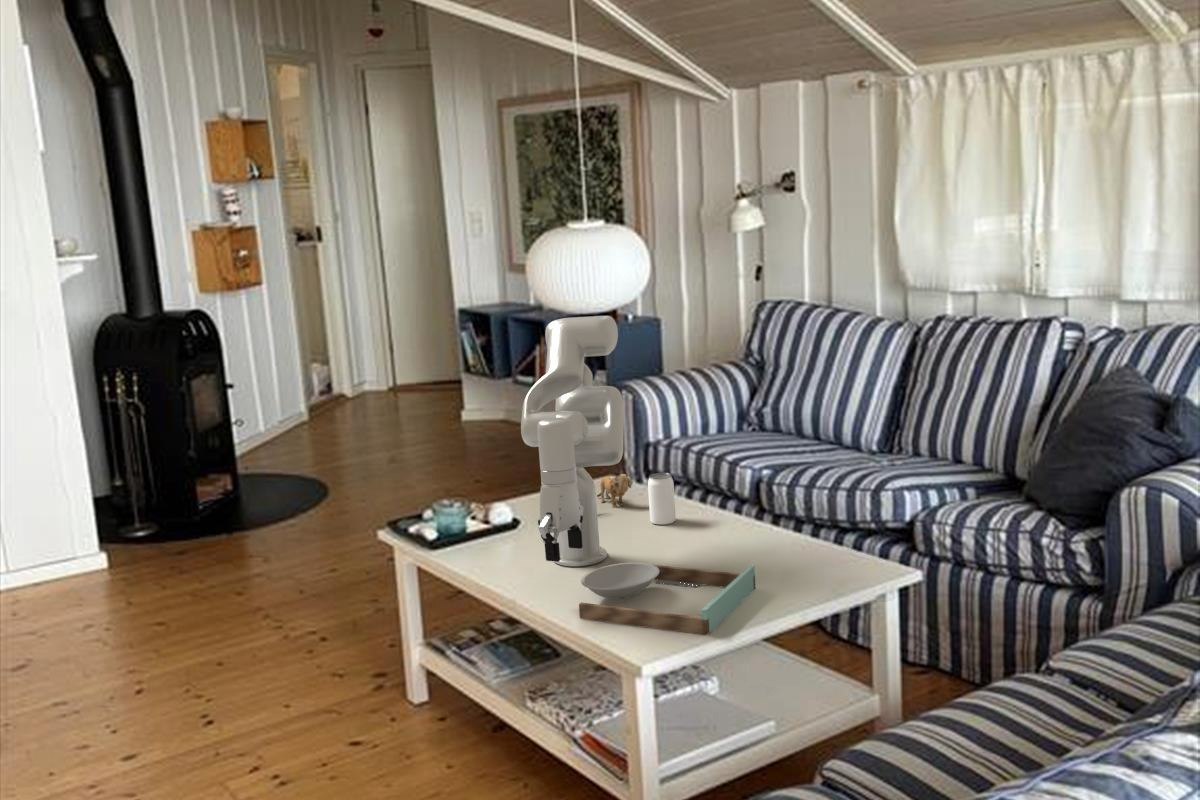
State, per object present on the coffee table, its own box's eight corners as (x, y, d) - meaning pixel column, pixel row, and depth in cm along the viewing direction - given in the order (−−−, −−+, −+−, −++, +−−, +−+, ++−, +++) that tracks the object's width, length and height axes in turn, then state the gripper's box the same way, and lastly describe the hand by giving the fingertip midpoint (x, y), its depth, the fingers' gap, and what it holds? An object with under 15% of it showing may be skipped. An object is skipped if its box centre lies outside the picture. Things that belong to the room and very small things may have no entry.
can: (676, 524, 303) (673, 478, 300) (650, 526, 303) (647, 480, 301) (675, 517, 309) (672, 471, 307) (649, 518, 309) (647, 473, 307)
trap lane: (579, 618, 246) (578, 594, 245) (636, 575, 268) (634, 554, 267) (707, 634, 233) (706, 610, 232) (755, 588, 255) (754, 566, 254)
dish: (634, 578, 266) (632, 557, 265) (675, 595, 255) (674, 572, 254) (568, 600, 256) (566, 577, 255) (608, 618, 245) (606, 594, 244)
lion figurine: (637, 506, 321) (634, 473, 320) (621, 510, 318) (618, 477, 317) (604, 496, 333) (602, 464, 331) (588, 500, 330) (586, 468, 328)
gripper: (563, 466, 266) (569, 542, 268) (522, 484, 251) (528, 564, 253) (593, 468, 262) (598, 544, 265) (553, 486, 247) (559, 567, 250)
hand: (564, 554), depth 259 cm, fingers open, 9 cm apart
